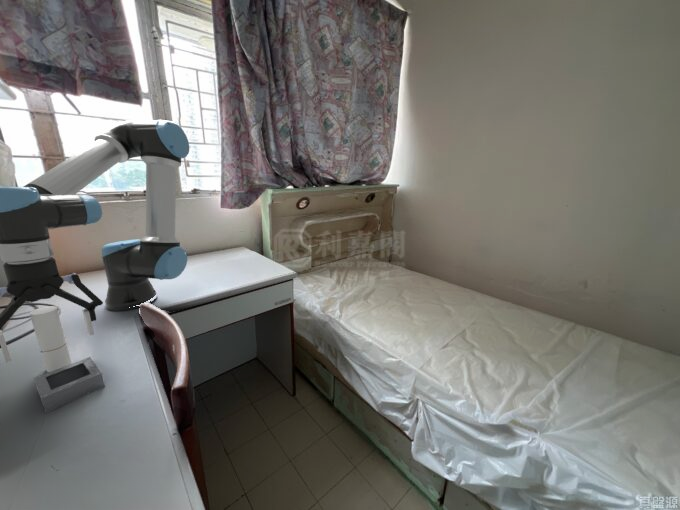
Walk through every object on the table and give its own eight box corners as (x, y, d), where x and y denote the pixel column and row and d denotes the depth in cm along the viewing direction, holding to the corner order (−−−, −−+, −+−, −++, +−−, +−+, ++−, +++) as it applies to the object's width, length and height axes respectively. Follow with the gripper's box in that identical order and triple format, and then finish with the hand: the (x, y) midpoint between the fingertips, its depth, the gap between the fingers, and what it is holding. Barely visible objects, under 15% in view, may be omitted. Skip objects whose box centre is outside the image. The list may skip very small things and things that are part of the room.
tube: (76, 360, 67) (62, 306, 63) (59, 372, 63) (43, 314, 59) (58, 360, 67) (43, 306, 63) (40, 372, 63) (23, 314, 59)
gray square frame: (37, 391, 57) (33, 377, 56) (92, 369, 64) (89, 357, 63) (46, 413, 52) (41, 398, 51) (104, 386, 59) (101, 373, 58)
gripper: (-76, 278, 46) (-36, 381, 51) (108, 252, 66) (122, 329, 71) (-74, 269, 50) (-37, 365, 56) (98, 247, 70) (113, 320, 75)
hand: (53, 345), depth 63 cm, fingers open, 13 cm apart
